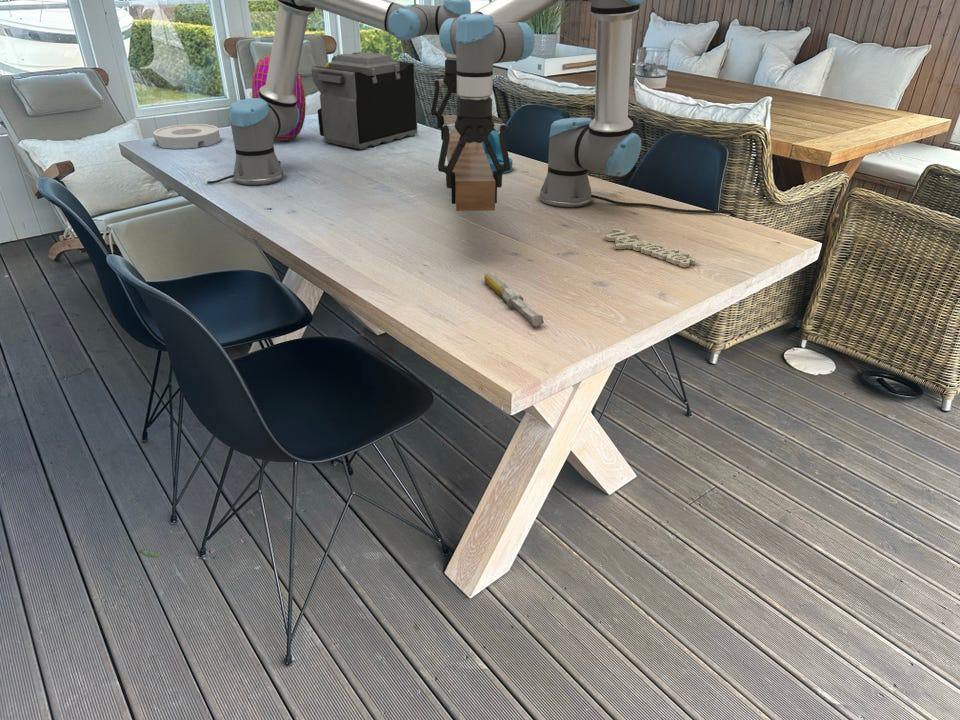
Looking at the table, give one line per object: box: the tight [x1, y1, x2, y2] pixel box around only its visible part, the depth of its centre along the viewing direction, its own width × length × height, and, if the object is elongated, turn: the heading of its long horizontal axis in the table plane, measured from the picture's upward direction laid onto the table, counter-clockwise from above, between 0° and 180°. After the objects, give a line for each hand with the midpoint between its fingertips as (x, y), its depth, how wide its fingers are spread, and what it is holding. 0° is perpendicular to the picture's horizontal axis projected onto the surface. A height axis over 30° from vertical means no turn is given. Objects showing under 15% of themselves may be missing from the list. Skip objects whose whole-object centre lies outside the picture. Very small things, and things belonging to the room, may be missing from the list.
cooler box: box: [311, 51, 418, 150], centre depth 260 cm, size 37×22×30 cm, turn 144°
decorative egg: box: [251, 54, 307, 142], centre depth 257 cm, size 19×19×30 cm
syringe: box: [483, 271, 545, 328], centre depth 142 cm, size 25×4×3 cm, turn 21°
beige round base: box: [152, 123, 221, 150], centre depth 260 cm, size 23×23×4 cm
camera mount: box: [482, 130, 513, 174], centre depth 231 cm, size 18×10×10 cm, turn 35°
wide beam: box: [442, 114, 496, 212], centre depth 181 cm, size 71×9×7 cm, turn 5°
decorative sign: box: [605, 228, 696, 268], centre depth 169 cm, size 26×1×10 cm
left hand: (458, 139), depth 209 cm, fingers closed on wide beam, 9 cm apart
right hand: (474, 201), depth 156 cm, fingers closed on wide beam, 9 cm apart
